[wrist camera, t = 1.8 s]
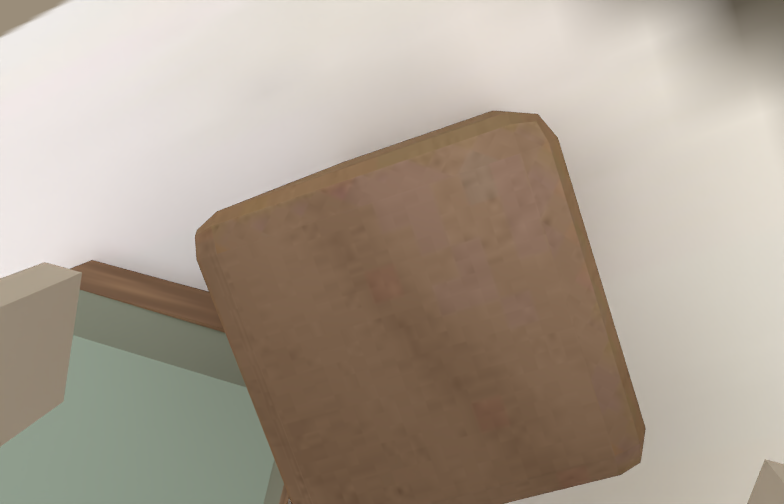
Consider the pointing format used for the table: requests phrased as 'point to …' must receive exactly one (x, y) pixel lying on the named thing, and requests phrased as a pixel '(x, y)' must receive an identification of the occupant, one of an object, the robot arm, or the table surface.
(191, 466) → the tower top
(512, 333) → the block
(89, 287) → the tower base
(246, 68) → the table surface
